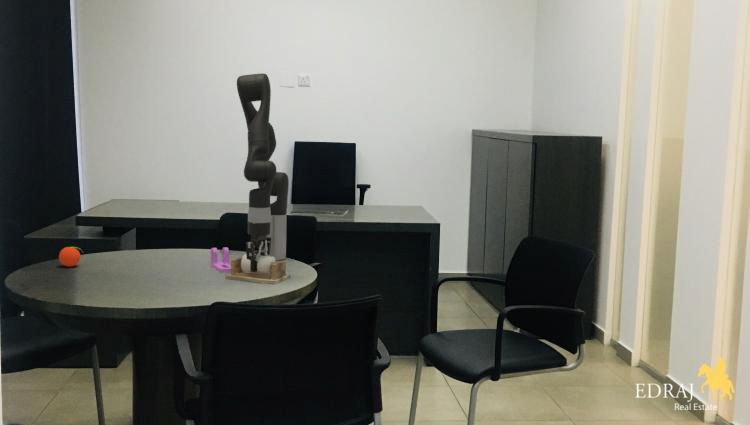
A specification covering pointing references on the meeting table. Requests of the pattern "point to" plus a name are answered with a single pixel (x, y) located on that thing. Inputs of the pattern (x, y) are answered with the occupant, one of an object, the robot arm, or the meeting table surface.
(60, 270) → the meeting table surface
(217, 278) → the meeting table surface
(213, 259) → the bracket
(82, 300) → the meeting table surface
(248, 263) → the roll
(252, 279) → the cradle
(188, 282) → the meeting table surface
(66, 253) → the clementine
